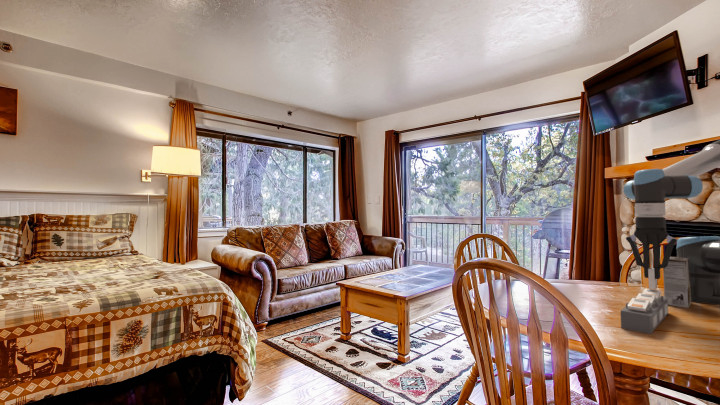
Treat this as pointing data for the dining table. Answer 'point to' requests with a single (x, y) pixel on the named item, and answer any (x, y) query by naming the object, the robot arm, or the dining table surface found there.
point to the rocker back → (652, 292)
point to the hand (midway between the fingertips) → (652, 288)
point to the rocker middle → (647, 297)
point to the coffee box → (677, 282)
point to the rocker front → (638, 304)
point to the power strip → (645, 316)
